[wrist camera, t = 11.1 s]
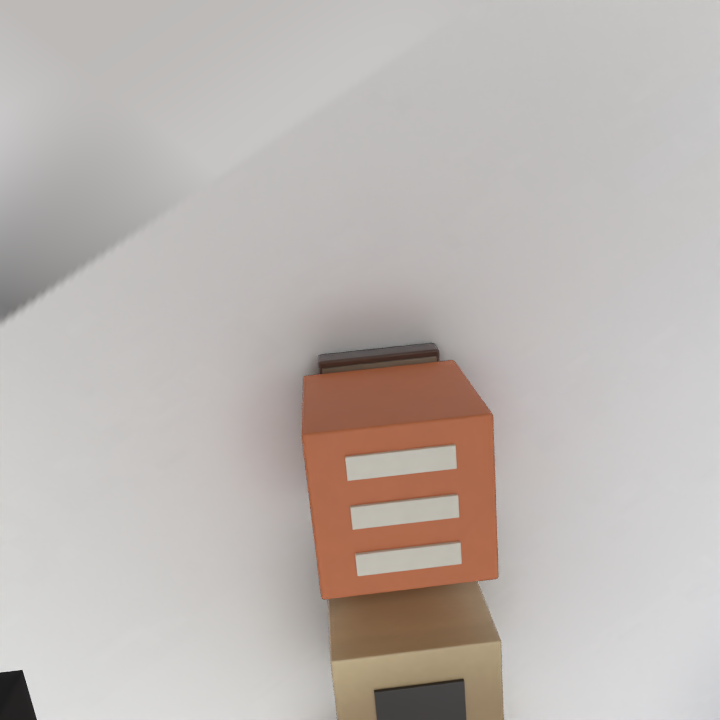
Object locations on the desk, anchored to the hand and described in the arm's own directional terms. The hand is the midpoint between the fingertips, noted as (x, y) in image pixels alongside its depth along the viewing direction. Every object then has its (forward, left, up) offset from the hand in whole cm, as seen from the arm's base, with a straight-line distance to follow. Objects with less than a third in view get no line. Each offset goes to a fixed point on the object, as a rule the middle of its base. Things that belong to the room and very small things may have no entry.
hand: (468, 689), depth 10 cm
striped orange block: (0, 0, -11) cm, 11 cm away
